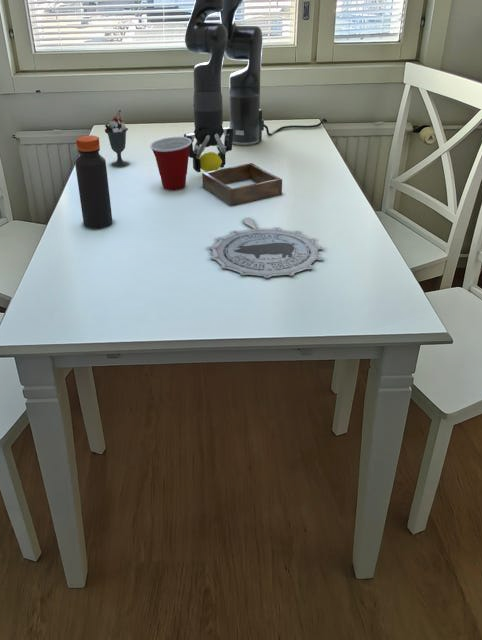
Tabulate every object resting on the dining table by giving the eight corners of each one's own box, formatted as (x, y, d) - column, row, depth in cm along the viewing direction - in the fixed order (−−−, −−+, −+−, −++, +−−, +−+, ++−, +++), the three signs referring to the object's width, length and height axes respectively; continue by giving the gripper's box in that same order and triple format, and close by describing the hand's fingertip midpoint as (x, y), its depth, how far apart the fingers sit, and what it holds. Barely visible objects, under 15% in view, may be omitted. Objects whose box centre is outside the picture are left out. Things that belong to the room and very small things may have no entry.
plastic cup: (152, 180, 173) (149, 136, 166) (192, 178, 173) (190, 134, 167) (153, 195, 164) (149, 149, 157) (194, 193, 164) (193, 146, 158)
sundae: (133, 160, 188) (128, 108, 180) (128, 168, 182) (123, 114, 174) (111, 160, 188) (105, 108, 180) (106, 168, 183) (100, 114, 175)
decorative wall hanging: (339, 272, 125) (301, 214, 150) (339, 271, 125) (301, 213, 150) (217, 282, 123) (199, 222, 148) (217, 281, 123) (199, 221, 148)
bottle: (78, 223, 150) (66, 138, 139) (103, 215, 153) (93, 132, 142) (92, 232, 145) (80, 145, 134) (118, 224, 149) (108, 138, 138)
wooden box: (251, 177, 173) (251, 162, 171) (281, 194, 162) (282, 179, 160) (202, 187, 168) (202, 172, 165) (230, 206, 156) (230, 190, 154)
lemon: (221, 167, 177) (220, 148, 174) (223, 174, 173) (223, 154, 170) (196, 169, 177) (195, 150, 174) (197, 175, 172) (197, 156, 169)
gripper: (189, 113, 160) (192, 177, 169) (239, 106, 165) (239, 168, 174) (177, 107, 166) (180, 169, 175) (225, 100, 171) (225, 161, 180)
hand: (209, 169), depth 174 cm, fingers closed on lemon, 6 cm apart
